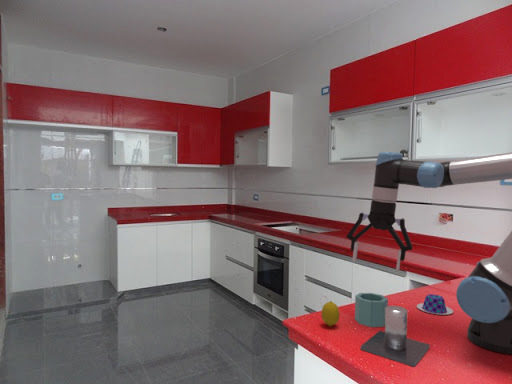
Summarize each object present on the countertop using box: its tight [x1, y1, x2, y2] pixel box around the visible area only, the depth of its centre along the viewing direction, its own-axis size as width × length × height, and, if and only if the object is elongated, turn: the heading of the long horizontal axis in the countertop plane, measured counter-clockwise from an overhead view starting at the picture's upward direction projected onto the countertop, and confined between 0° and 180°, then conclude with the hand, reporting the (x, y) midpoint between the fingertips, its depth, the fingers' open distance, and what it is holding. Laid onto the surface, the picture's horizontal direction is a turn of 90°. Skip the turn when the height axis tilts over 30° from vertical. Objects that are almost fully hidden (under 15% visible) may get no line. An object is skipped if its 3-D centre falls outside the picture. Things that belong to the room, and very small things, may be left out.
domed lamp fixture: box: [360, 305, 431, 368], centre depth 99 cm, size 14×14×11 cm
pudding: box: [416, 293, 454, 316], centre depth 131 cm, size 12×12×5 cm
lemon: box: [321, 300, 340, 327], centre depth 114 cm, size 6×6×8 cm
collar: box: [354, 292, 389, 328], centre depth 118 cm, size 10×10×8 cm
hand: (375, 265), depth 116 cm, fingers open, 13 cm apart
